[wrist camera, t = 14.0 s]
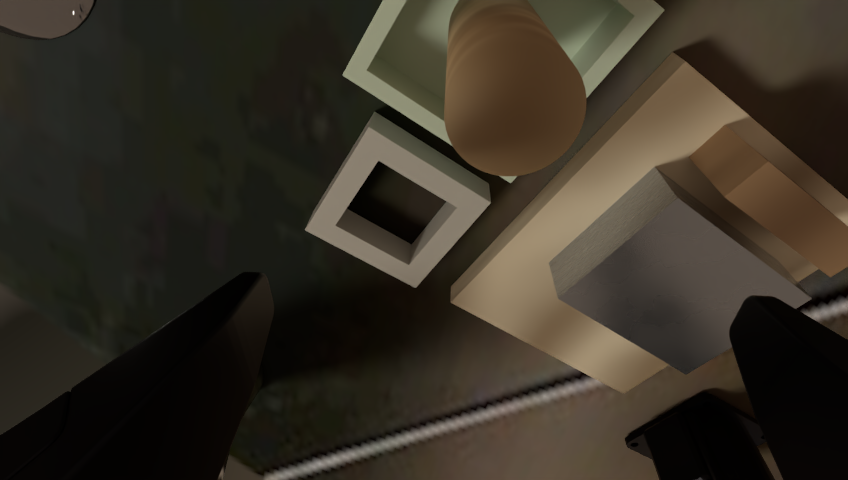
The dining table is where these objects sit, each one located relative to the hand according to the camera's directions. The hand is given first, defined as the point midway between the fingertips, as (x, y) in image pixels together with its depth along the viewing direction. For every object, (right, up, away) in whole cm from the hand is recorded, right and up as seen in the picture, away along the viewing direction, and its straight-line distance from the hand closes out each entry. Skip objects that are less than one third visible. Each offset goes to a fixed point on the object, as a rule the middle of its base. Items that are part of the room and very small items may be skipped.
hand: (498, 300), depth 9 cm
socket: (-3, +3, +12) cm, 13 cm away
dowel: (+1, +9, +8) cm, 11 cm away
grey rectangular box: (+9, 0, +12) cm, 15 cm away
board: (+9, +1, +13) cm, 16 cm away
